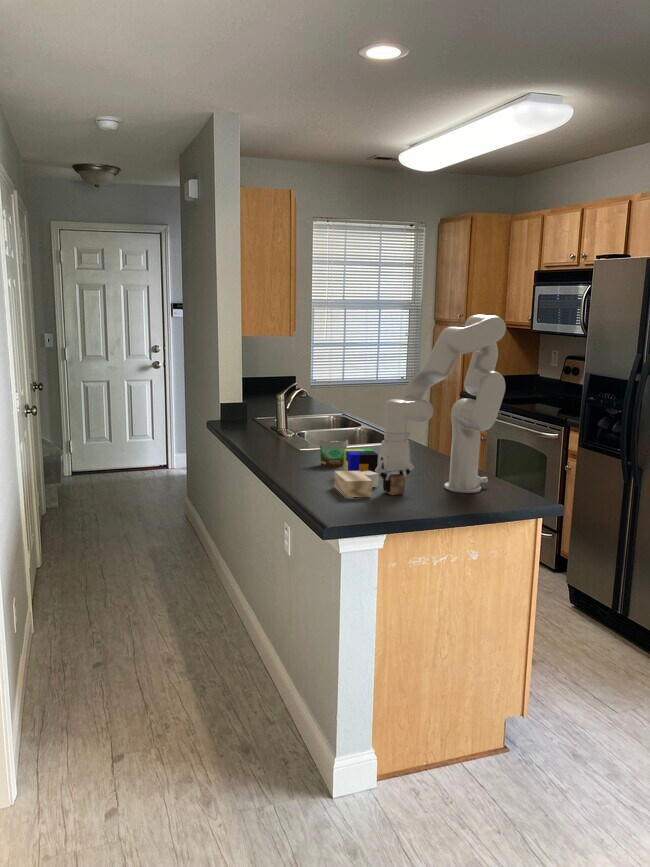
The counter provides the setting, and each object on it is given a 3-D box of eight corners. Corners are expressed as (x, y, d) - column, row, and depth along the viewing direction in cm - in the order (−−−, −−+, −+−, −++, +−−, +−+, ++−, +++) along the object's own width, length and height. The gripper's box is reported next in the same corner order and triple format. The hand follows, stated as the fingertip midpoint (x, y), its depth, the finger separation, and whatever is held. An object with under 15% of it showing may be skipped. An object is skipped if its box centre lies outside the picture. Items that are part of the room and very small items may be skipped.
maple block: (359, 487, 247) (359, 470, 246) (371, 498, 234) (372, 480, 233) (333, 488, 245) (334, 471, 244) (344, 499, 232) (345, 481, 231)
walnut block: (396, 489, 243) (396, 472, 242) (404, 493, 239) (404, 475, 238) (383, 491, 241) (384, 474, 240) (391, 495, 237) (392, 477, 236)
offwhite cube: (367, 484, 252) (368, 470, 251) (378, 487, 248) (378, 473, 247) (357, 486, 248) (358, 472, 247) (368, 489, 245) (368, 475, 244)
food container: (323, 468, 273) (324, 442, 271) (317, 465, 278) (318, 439, 277) (352, 466, 277) (353, 441, 276) (346, 463, 283) (347, 438, 281)
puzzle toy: (349, 482, 253) (350, 454, 251) (343, 475, 263) (344, 449, 261) (376, 482, 255) (378, 454, 253) (369, 475, 265) (370, 448, 263)
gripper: (411, 433, 244) (409, 484, 247) (367, 436, 236) (366, 490, 239) (423, 437, 237) (421, 490, 240) (379, 440, 229) (377, 495, 233)
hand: (393, 489), depth 240 cm, fingers closed on walnut block, 5 cm apart
